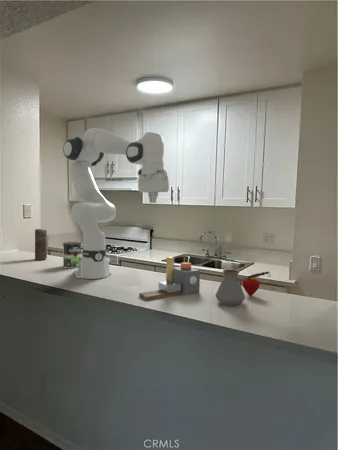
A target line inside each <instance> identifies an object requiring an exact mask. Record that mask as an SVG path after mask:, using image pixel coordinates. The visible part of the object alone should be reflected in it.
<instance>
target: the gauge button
mask: <svg viewBox="0 0 338 450" xmlns="http://www.w3.org/2000/svg"><path fill="white" fill-rule="evenodd" d="M180 267H181V268H182V269H183V270H189V269H191V268H192V263H191V262H186V261H185V262H180Z"/></svg>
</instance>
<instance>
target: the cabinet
mask: <svg viewBox="0 0 338 450" xmlns="http://www.w3.org/2000/svg"><path fill="white" fill-rule="evenodd" d="M174 281H176V282H178V283H181V291H182V294H181V295H184V296H187V295H192V294H193V295H194V294H199V293H200V288H201V287H200V285H201V284H200V283H201V270H200V269H198V268H194V267H191V269H189V270H183V269H182V268H181V266H176V267H175V266H174Z"/></svg>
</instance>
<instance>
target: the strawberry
mask: <svg viewBox="0 0 338 450" xmlns="http://www.w3.org/2000/svg"><path fill="white" fill-rule="evenodd" d="M251 275H254V273H253V272H252V273H251ZM241 281H242V282H241V284H242V289H244V291H245V292H246V294H247V295H248V296H249V297H252V296H253V295H255V293H256V292H257V291H258V290H259V288H260V285H261V284H260V281H259V280H258V277H254V278H249V279H245V280H241Z"/></svg>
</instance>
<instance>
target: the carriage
mask: <svg viewBox="0 0 338 450" xmlns="http://www.w3.org/2000/svg"><path fill="white" fill-rule="evenodd" d="M165 267H166V269H165V272H166V273H165V275H166V276H165V281H164V280H163V281H159V282H158V290H162V291H164V292H166V293H170V292H176V291H181V283H178V282H176V281H174V267H175V257H173V256H166V266H165Z"/></svg>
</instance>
